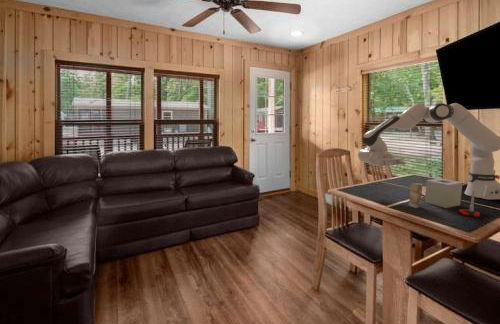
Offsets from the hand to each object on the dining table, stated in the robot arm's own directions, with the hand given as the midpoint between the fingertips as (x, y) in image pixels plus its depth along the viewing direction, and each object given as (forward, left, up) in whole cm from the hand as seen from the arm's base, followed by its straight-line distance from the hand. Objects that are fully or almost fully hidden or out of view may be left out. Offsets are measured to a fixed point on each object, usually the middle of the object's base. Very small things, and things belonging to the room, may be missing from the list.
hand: (399, 163), depth 162 cm
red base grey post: (-28, +20, -23) cm, 41 cm away
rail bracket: (-6, +11, -22) cm, 25 cm away
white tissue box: (-23, +4, -22) cm, 32 cm away
